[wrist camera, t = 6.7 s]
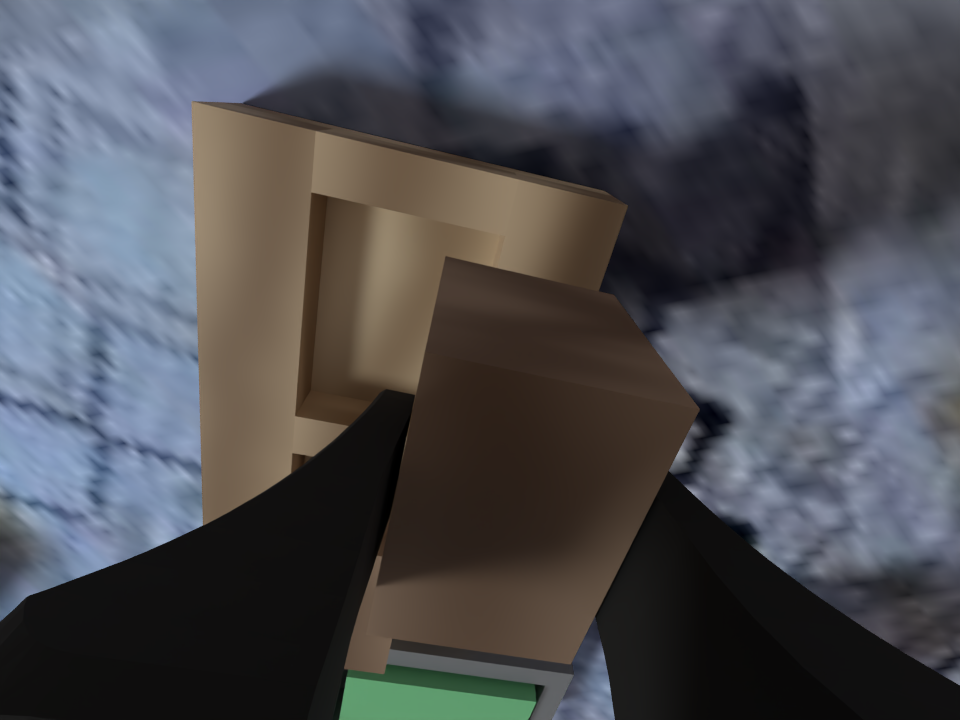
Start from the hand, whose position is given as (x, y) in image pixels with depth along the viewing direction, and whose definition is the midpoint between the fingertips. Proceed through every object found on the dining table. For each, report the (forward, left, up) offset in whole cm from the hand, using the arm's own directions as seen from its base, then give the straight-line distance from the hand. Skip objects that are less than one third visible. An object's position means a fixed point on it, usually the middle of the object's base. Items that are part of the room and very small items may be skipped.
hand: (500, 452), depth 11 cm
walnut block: (0, 0, -2) cm, 2 cm away
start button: (-2, +20, -8) cm, 22 cm away
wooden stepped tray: (+3, +5, -9) cm, 11 cm away
